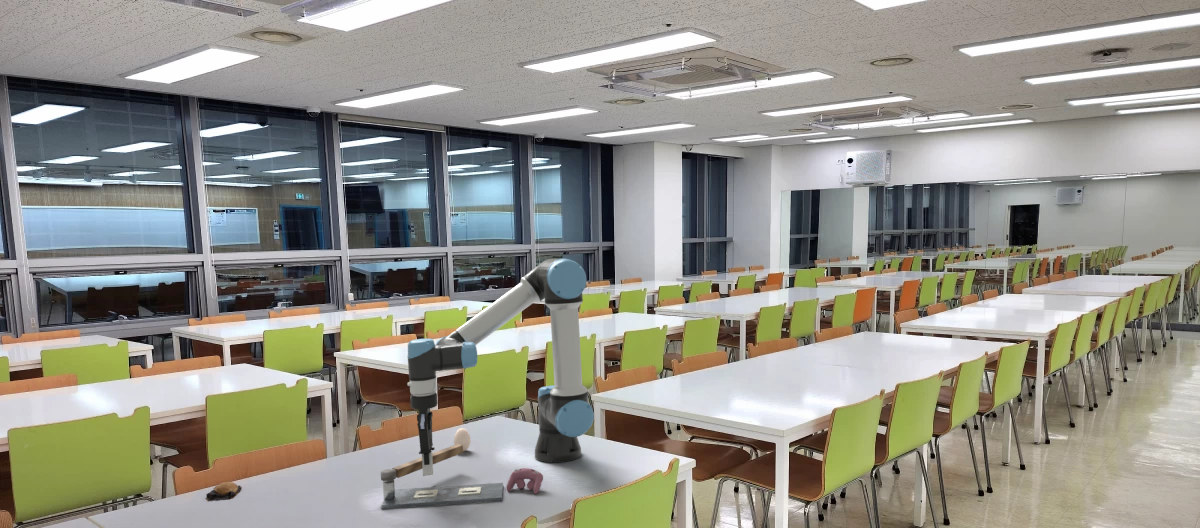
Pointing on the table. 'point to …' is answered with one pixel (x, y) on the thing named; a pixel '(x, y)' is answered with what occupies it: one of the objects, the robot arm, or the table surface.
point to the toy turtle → (224, 491)
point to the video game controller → (525, 473)
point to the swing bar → (420, 463)
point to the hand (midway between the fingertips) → (428, 474)
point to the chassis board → (440, 495)
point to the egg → (462, 438)
